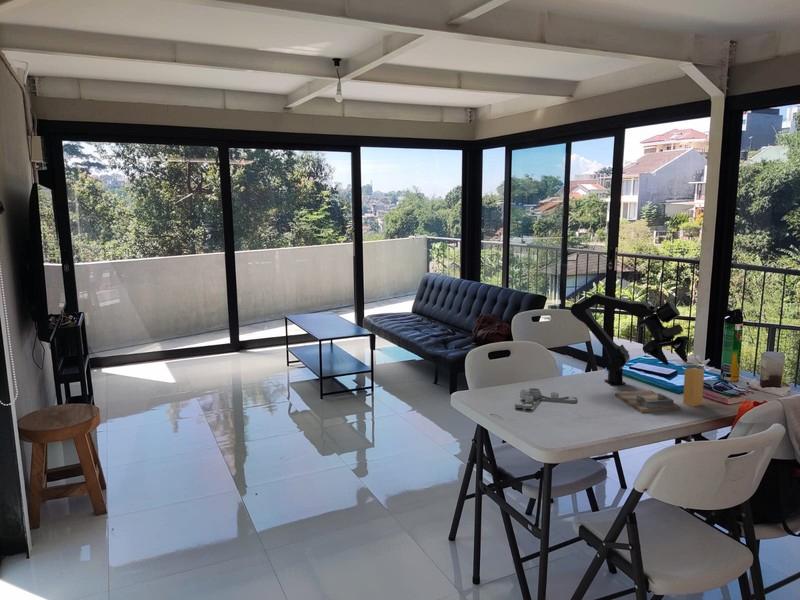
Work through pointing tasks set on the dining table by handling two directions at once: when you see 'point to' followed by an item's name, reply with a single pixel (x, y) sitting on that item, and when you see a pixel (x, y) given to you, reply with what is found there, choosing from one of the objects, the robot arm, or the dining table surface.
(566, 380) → the dining table surface
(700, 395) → the block
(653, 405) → the keeper
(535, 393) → the pulley system
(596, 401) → the dining table surface
